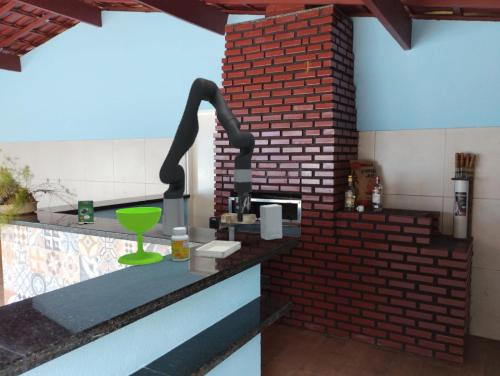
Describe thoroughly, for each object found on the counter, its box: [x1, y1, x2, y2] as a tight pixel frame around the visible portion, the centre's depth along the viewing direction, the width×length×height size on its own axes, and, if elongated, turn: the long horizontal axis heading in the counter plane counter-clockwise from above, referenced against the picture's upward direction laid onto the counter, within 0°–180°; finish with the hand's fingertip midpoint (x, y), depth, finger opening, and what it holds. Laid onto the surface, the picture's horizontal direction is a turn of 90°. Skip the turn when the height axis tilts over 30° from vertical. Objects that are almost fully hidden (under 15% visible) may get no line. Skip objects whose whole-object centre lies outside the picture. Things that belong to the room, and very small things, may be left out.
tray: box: [194, 239, 242, 259], centre depth 162 cm, size 12×18×2 cm, turn 161°
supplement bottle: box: [170, 226, 190, 262], centre depth 151 cm, size 6×6×11 cm
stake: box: [228, 226, 236, 242], centre depth 177 cm, size 2×2×7 cm
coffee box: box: [77, 200, 95, 223], centre depth 234 cm, size 8×3×13 cm, turn 119°
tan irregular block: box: [220, 212, 257, 225], centre depth 175 cm, size 13×8×3 cm, turn 71°
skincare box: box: [259, 203, 283, 241], centre depth 186 cm, size 8×6×15 cm
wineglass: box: [115, 206, 164, 266], centre depth 152 cm, size 16×16×18 cm
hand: (243, 220), depth 175 cm, fingers closed on tan irregular block, 6 cm apart
